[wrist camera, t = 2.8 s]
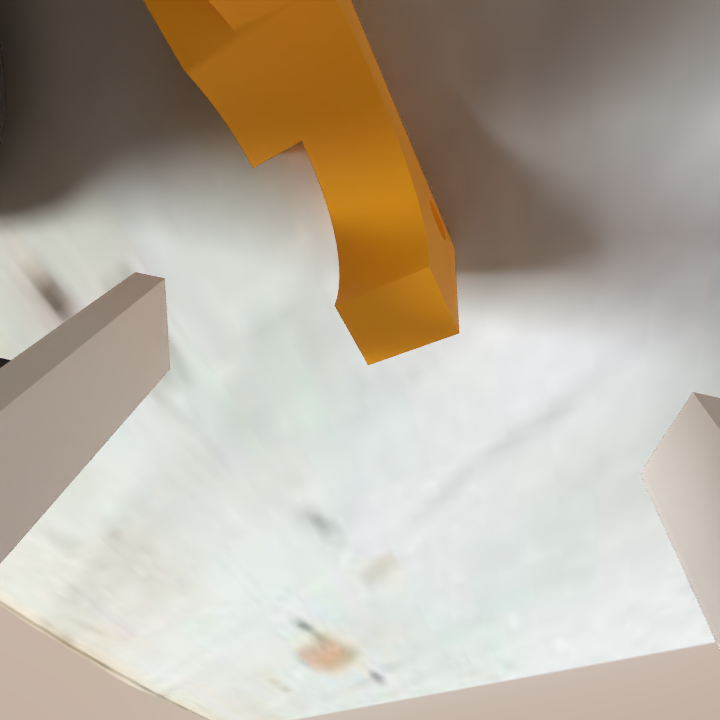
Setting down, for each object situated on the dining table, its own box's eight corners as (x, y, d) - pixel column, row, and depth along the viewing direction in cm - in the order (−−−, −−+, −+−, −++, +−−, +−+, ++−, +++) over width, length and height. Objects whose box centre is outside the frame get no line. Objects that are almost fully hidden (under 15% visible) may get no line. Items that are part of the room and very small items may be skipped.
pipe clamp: (158, -63, 14) (-12, -124, 9) (283, -165, 13) (168, -313, 8) (349, 289, 20) (313, 384, 14) (454, 245, 18) (459, 333, 13)
